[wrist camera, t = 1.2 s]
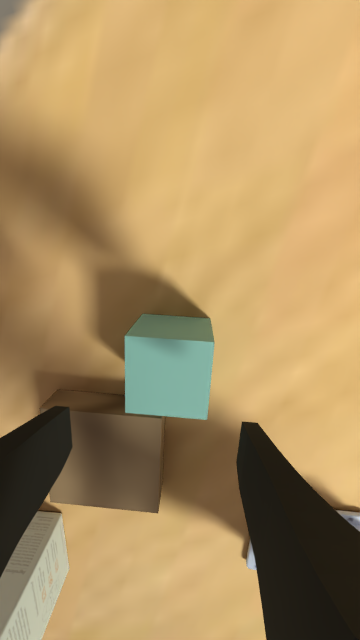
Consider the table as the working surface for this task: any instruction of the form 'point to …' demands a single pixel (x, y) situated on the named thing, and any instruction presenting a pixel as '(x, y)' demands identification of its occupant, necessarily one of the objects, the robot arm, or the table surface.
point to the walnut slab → (109, 454)
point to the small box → (33, 578)
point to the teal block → (169, 366)
